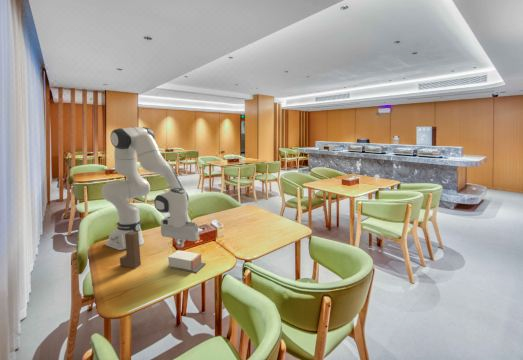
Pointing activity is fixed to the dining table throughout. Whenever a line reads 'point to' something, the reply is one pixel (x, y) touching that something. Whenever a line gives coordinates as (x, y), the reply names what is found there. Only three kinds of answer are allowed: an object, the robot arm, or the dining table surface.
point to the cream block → (185, 260)
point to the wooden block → (131, 251)
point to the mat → (191, 270)
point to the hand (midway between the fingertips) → (180, 246)
